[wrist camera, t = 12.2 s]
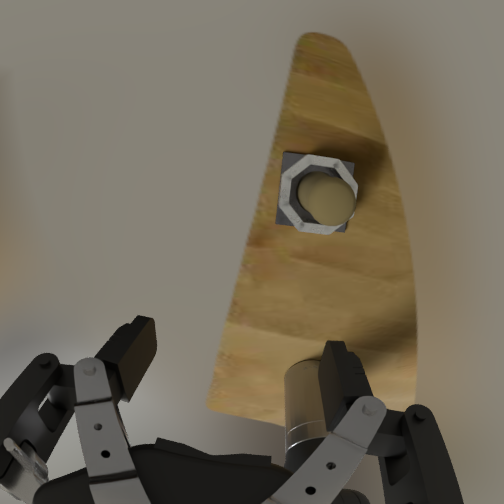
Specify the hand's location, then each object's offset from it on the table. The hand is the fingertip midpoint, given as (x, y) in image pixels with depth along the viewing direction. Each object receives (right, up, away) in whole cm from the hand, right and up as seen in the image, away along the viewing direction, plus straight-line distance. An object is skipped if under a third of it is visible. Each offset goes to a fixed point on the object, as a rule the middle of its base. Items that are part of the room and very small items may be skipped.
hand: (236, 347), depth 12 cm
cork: (+10, +12, +24) cm, 29 cm away
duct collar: (+9, +13, +25) cm, 29 cm away
